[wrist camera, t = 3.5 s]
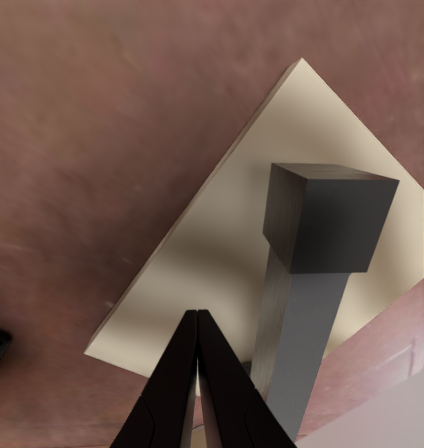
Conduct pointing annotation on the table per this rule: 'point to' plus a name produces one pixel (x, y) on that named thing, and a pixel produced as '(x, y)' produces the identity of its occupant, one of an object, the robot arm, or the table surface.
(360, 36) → the table surface
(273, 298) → the lever
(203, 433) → the lidded canister
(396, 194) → the board
